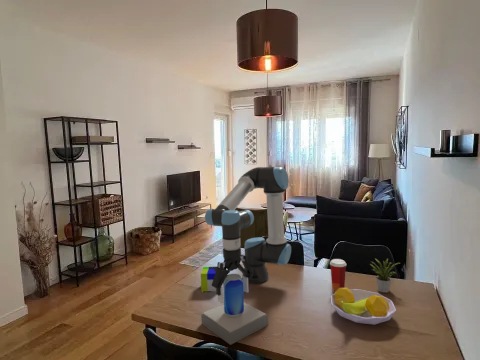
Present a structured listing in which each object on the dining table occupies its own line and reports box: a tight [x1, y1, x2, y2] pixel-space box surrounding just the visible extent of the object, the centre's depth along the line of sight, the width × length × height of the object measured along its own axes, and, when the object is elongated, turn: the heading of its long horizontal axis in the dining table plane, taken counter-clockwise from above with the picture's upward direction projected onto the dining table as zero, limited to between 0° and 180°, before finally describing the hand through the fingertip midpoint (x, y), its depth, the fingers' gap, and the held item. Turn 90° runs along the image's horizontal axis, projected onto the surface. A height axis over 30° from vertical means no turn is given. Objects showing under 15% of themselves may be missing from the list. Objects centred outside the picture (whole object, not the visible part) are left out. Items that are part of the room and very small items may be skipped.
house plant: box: [369, 257, 401, 293], centre depth 159 cm, size 14×14×16 cm
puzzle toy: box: [200, 266, 217, 291], centre depth 169 cm, size 10×10×10 cm
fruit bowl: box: [330, 287, 397, 326], centre depth 136 cm, size 28×27×11 cm
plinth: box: [200, 301, 269, 346], centre depth 132 cm, size 20×20×5 cm
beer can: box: [222, 273, 245, 317], centre depth 131 cm, size 8×8×16 cm
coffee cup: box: [329, 258, 347, 292], centre depth 162 cm, size 8×8×15 cm
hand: (233, 296), depth 131 cm, fingers open, 13 cm apart
